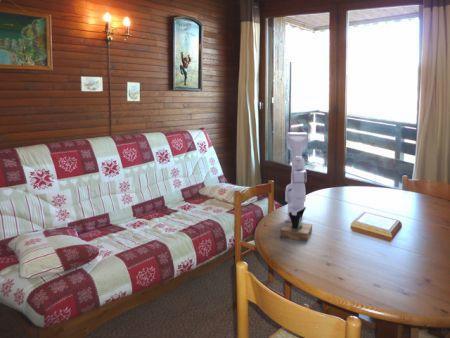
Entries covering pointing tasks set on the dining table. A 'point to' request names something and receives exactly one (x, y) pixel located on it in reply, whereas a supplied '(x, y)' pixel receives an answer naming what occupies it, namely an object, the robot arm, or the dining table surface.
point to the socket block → (296, 231)
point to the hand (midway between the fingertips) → (296, 225)
